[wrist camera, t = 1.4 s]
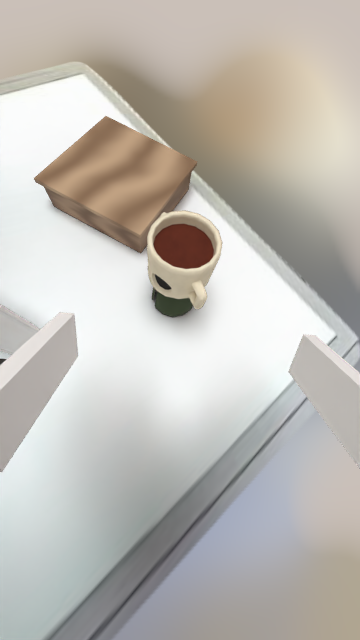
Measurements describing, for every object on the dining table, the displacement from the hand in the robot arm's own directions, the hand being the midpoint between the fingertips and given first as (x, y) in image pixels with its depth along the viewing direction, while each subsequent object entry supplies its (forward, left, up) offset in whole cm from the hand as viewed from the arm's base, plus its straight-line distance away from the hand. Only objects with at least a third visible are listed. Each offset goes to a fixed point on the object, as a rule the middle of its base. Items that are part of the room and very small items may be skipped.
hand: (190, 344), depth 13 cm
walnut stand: (-21, +22, -17) cm, 35 cm away
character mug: (-5, +10, -18) cm, 21 cm away
